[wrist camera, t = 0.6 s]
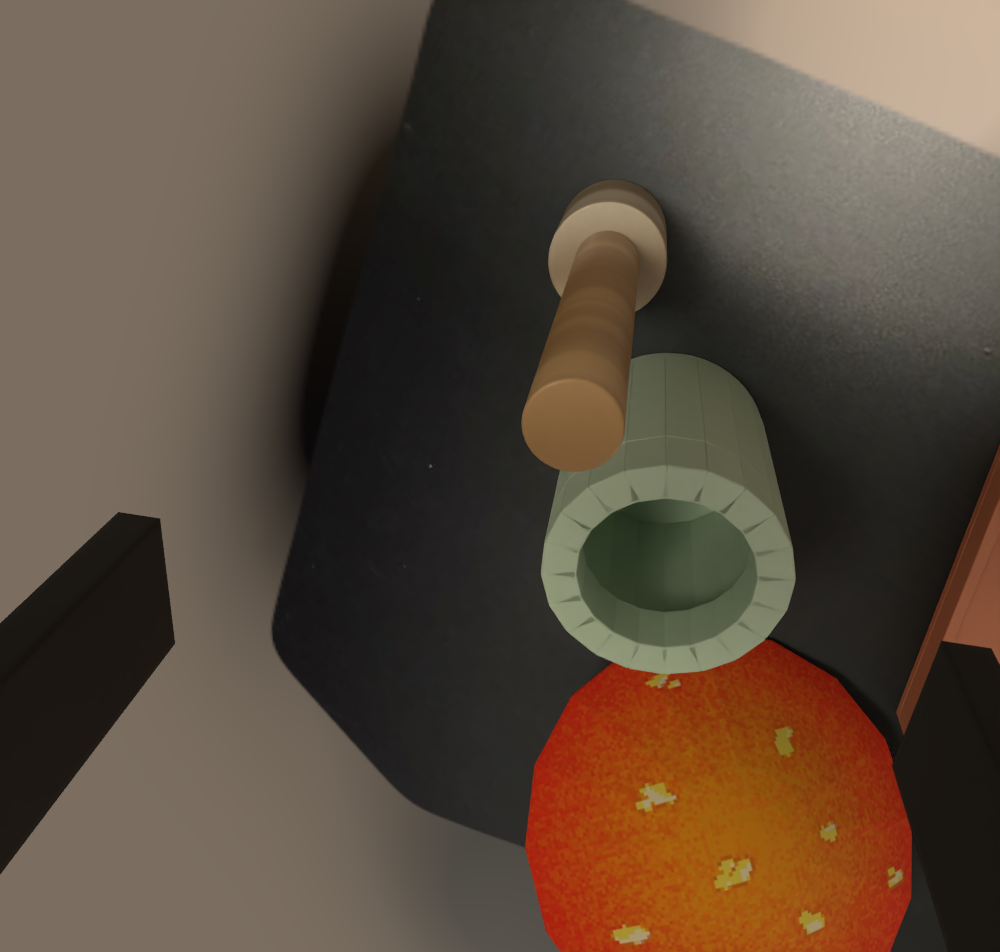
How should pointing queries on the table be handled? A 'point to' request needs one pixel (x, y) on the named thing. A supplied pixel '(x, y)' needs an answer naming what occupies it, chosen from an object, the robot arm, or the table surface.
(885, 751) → the decorative mushroom
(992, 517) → the tray
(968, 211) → the table surface
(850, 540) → the table surface
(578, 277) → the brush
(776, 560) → the jar
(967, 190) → the table surface
